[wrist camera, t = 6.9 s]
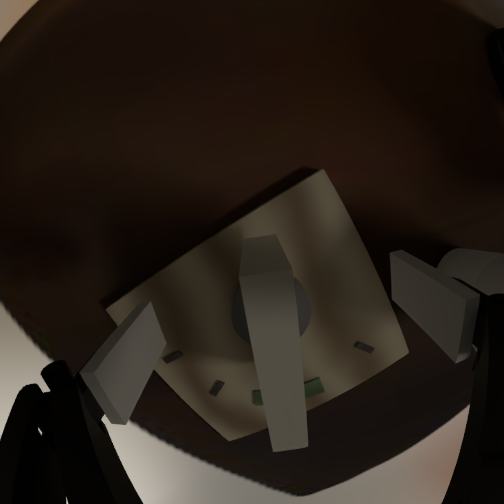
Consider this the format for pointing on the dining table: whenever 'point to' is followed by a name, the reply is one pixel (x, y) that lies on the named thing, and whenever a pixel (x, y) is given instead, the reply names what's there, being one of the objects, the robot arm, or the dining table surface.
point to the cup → (475, 269)
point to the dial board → (318, 292)
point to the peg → (274, 335)
